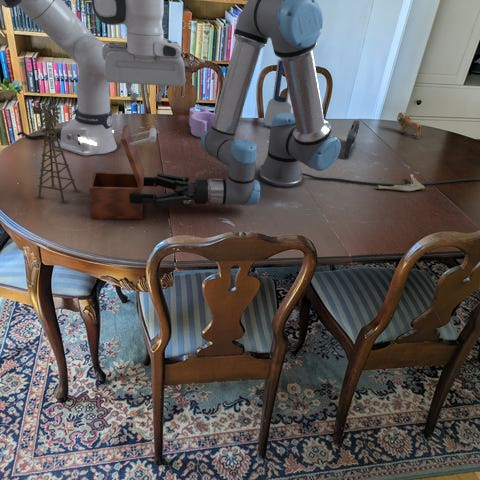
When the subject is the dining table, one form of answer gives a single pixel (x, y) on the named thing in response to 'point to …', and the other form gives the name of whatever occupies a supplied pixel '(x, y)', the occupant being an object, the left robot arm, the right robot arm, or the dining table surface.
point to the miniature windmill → (52, 147)
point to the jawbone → (405, 186)
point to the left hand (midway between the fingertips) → (146, 101)
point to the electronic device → (277, 99)
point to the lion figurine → (408, 124)
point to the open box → (114, 196)
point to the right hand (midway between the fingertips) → (131, 189)
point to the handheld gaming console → (351, 139)
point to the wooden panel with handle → (133, 153)
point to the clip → (200, 121)
